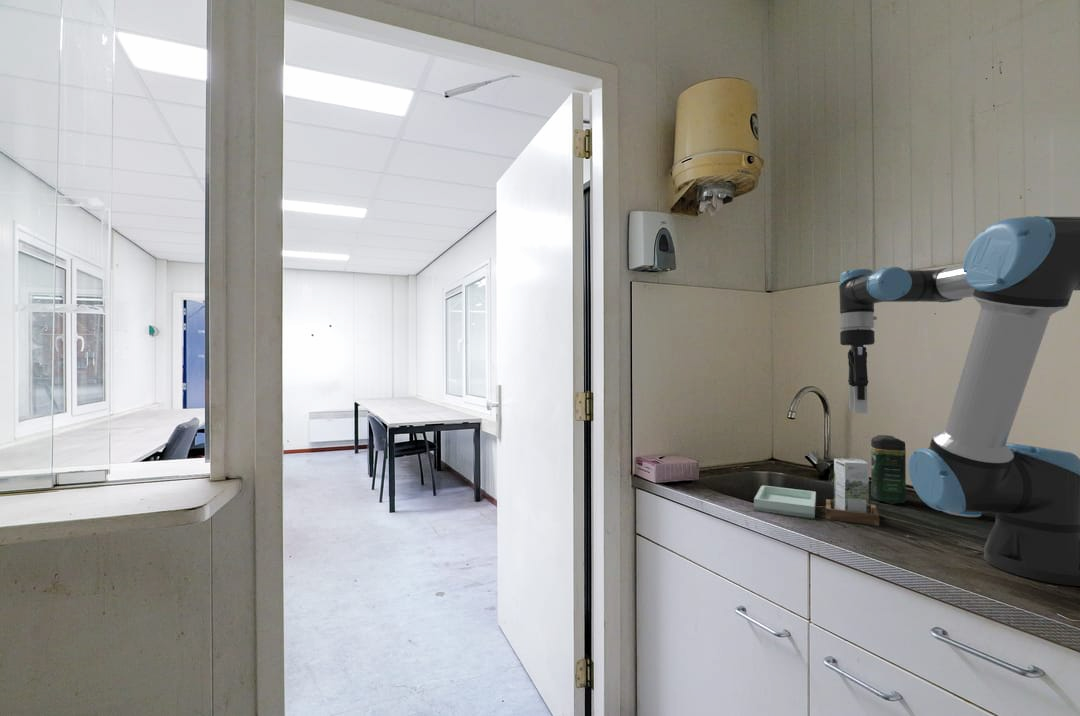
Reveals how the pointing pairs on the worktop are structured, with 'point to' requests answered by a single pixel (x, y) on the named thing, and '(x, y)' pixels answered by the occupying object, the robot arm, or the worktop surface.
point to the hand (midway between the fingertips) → (857, 411)
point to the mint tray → (786, 501)
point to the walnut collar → (852, 514)
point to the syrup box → (851, 485)
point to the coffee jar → (888, 469)
